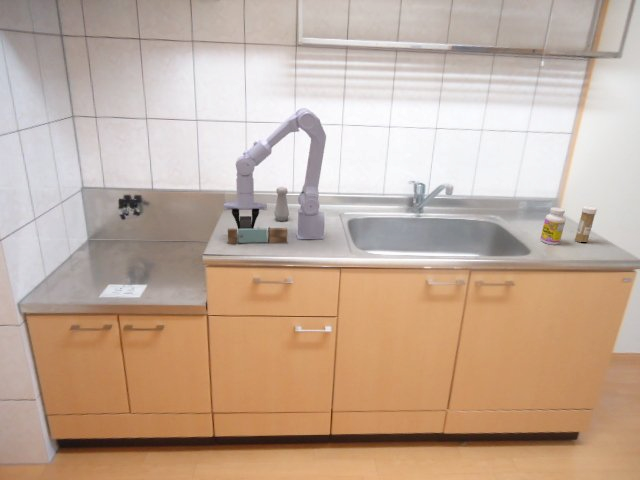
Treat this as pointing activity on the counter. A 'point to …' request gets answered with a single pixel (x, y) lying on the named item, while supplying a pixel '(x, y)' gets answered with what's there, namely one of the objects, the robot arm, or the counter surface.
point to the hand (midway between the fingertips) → (245, 229)
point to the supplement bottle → (553, 226)
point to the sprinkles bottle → (585, 223)
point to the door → (252, 235)
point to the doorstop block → (245, 222)
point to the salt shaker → (281, 205)
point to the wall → (273, 235)
